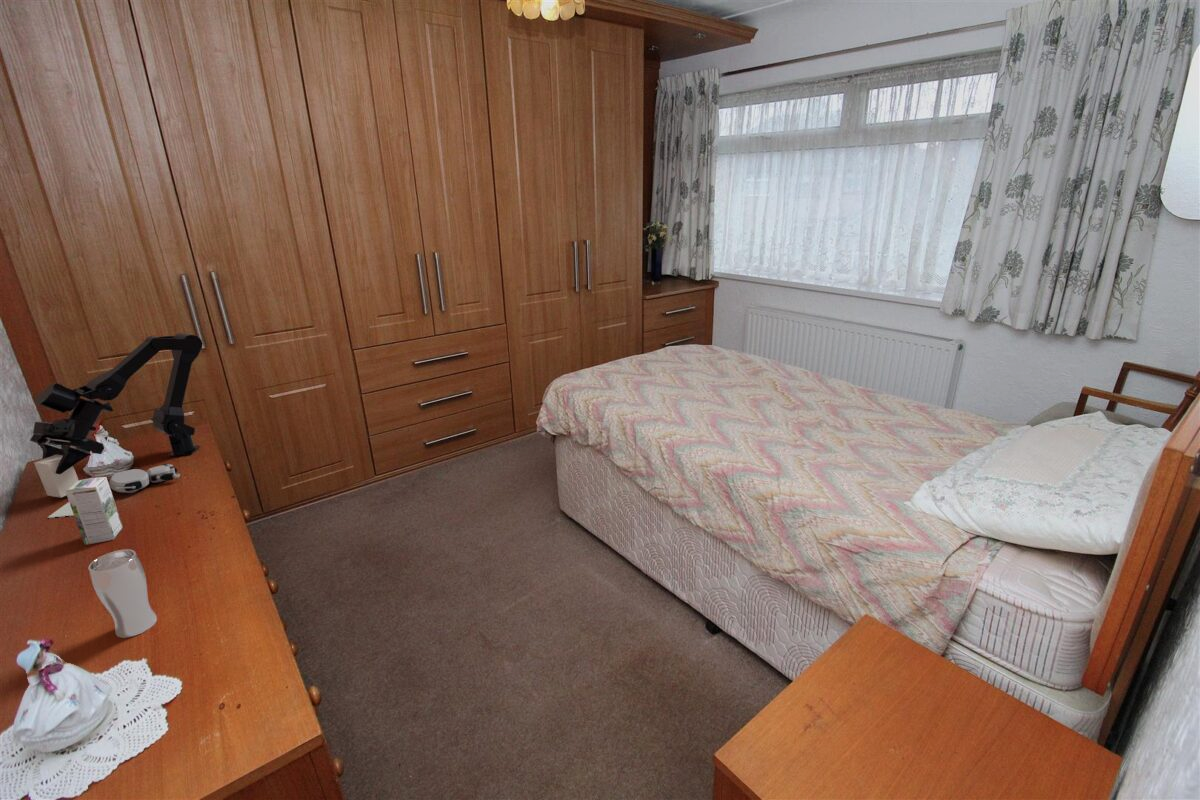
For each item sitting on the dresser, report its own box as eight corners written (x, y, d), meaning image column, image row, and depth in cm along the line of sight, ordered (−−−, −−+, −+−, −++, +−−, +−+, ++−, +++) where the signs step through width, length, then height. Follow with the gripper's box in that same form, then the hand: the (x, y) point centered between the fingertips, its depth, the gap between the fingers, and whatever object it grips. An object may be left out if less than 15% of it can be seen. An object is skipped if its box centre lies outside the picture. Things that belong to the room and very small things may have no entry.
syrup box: (94, 533, 131) (74, 480, 127) (124, 527, 134) (106, 475, 129) (84, 545, 126) (63, 491, 122) (115, 539, 129) (96, 486, 124)
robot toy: (173, 472, 164) (108, 486, 153) (171, 458, 163) (105, 472, 152) (184, 485, 156) (116, 501, 145) (181, 470, 155) (112, 486, 144)
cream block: (68, 486, 151) (55, 454, 147) (81, 488, 150) (69, 456, 146) (47, 495, 146) (33, 462, 143) (61, 497, 145) (47, 464, 142)
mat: (69, 502, 145) (69, 501, 145) (104, 499, 147) (103, 498, 146) (47, 518, 138) (47, 517, 137) (84, 514, 139) (83, 513, 139)
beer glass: (154, 608, 106) (131, 543, 101) (164, 624, 102) (141, 558, 97) (109, 628, 101) (82, 561, 96) (117, 646, 97) (90, 577, 92)
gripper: (25, 405, 146) (-10, 459, 139) (77, 410, 141) (43, 466, 135) (68, 421, 156) (37, 472, 149) (118, 426, 151) (88, 479, 145)
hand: (50, 472), depth 144 cm, fingers closed on cream block, 5 cm apart
